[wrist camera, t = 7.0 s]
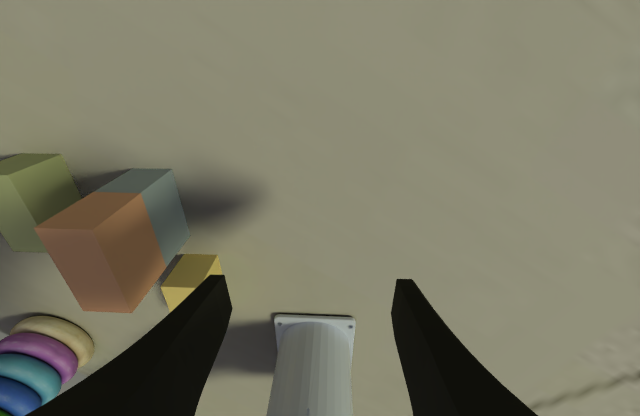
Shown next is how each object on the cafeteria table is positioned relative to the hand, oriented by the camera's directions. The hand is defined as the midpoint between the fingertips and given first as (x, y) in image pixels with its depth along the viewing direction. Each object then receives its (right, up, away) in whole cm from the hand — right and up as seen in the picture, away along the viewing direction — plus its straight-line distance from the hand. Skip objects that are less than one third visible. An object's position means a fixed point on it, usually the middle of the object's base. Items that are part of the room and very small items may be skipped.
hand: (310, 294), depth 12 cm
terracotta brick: (-12, +2, +7) cm, 14 cm away
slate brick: (-12, +4, +10) cm, 16 cm away
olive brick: (-20, +5, +10) cm, 23 cm away
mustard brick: (-10, -3, +14) cm, 18 cm away
